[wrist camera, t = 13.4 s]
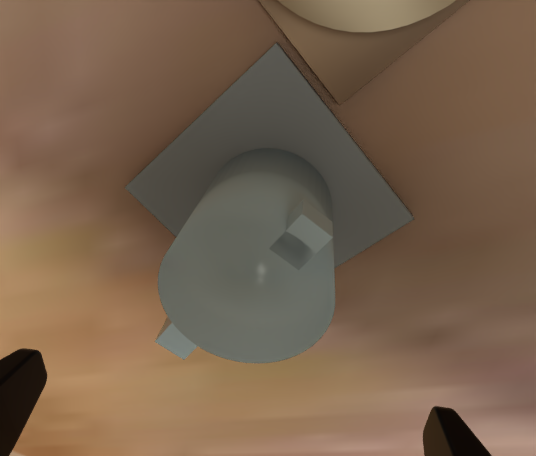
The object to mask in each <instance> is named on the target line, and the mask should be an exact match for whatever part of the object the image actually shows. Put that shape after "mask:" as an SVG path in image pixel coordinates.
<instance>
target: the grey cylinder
mask: <svg viewBox="0 0 536 456" xmlns="http://www.w3.org/2000/svg"><path fill="white" fill-rule="evenodd" d="M158 291H159V296H160V300H161V303H162V305H163V308H164V310H165V312H166V314H167V316H168V317H167V319H166V321H165V323H164V325H163V326H162V328H161V330H160V332H159V334H158V336H157V338H156V340H155V342H156V343H158V344H159V345H161V346H163V347H164V348H166V349H167V350H169V351H171V352H172V353H174V354H175V355H177V356H179V357H180V358H182V359H183V360H184V359H185V358H186V357H187V356H188V355H189V354H190V353H191V352H192V351H193V350H194V349H195V348H196V347H197V346H198V347H200V348H202V349H204V350H205V351H207V352H210V353H212V354H214V355H216V356H219V357H222V358H225V359H229V360H233V361H238V362H245V363H270V362H277V361H281V360H285V359H288V358H291V357H293V356H296V355H298V354H300V353H302V352H304V351H306V350H307V349H308V348H310V347H311V346H313V345H314V344H315V343H316V342H317V341H318V340H319V339H320V338H321V337H322V336H323V334H324V333H325V332H326V330H327V328H328V327H329V325H330V323H331V320H332V317H333V314H334V309H335V275H334V247H333V218H332V200H331V195H330V191H329V188H328V186H327V184H326V182H325V180H324V179H323V177H322V175H321V174H320V173H319V172H318V171H317V169H316V168H315V167H314V166H312V165H311V164H310V163H309V162H308V161H306V160H305V159H303V158H302V157H300V156H298V155H296V154H293V153H291V152H288V151H284V150H280V149H273V148H261V149H254V150H250V151H247V152H244V153H242V154H239V155H237V156H236V157H234V158H232V159H231V160H230V161H228V162H227V163H226V164H225V165H224V166H223V167H222V168H221V169H220V171H219V172H218V174H217V175H216V177H215V178H214V180H213V181H212V183H211V184H210V186H209V187H208V189H207V191H206V192H205V194H204V195H203V197H202V198H201V200H200V201H199V203H198V205H197V206H196V208H195V209H194V211H193V212H192V214H191V215H190V217H189V218H188V220H187V222H186V223H185V225H184V226H183V228H182V229H181V231H180V232H179V234H178V236H177V237H176V239H175V240H174V242H173V243H172V245H171V246H170V248H169V250H168V251H167V253H166V254H165V256H164V258H163V260H162V263H161V265H160V269H159V274H158Z"/></svg>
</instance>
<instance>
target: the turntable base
mask: <svg viewBox="0 0 536 456" xmlns="http://www.w3.org/2000/svg"><path fill="white" fill-rule="evenodd" d="M259 1H260V3H261V4H262V5H263V7H264V8H265V9H266V10H267V12H268V13H269V14H270V16H271V17H272V18H273V20H274V21H275V22H276V23H277V25H278V26H279V27H280V29H281V30H282V31H283V33H284V34H285V35H286V36H287V38H288V39H289V40H290V42H291V43H292V44H293V46H294V47H295V48H296V49H297V51H298V52H299V53H300V55H301V56H302V57H303V58H304V60H305V61H306V62H307V64H308V65H309V66H310V68H311V69H312V70H313V71H314V73H315V74H316V75H317V77H318V78H319V79H320V81H321V82H322V83H323V84H324V86H325V87H326V88H327V90H328V91H329V92H330V94H331V95H332V96H333V97H334V99H335V100H336V101H337V103H338V104H339V105H341V104H342V103H343V102H345V101H346V100H347V99H348V98H350V97H351V96H352V95H353V94H354V93H356V92H357V91H358V90H359V89H361V88H362V87H363V86H364V85H366V84H367V83H368V82H369V81H371V80H372V79H373V78H374V77H376V76H377V75H378V74H379V73H380V72H382V71H383V70H384V69H385V68H387V67H388V66H389V65H390V64H392V63H393V62H394V61H395V60H397V59H398V58H399V57H400V56H402V55H403V54H404V53H405V52H406V51H408V50H409V49H410V48H411V47H413V46H414V45H415V44H416V43H418V42H419V41H420V40H421V39H423V38H424V37H425V36H426V35H428V34H429V33H430V32H431V31H432V30H434V29H435V28H436V27H437V26H439V25H440V24H441V23H442V22H444V21H445V20H446V19H447V18H449V17H450V16H451V15H452V14H454V13H455V12H456V11H457V10H458V9H460V8H461V7H462V6H463V5H465V4H466V3H467V2H468V1H470V0H456V1H454V2H453V3H452V4H450V5H449V6H447V7H445V8H443V9H442V10H440V11H438V12H436V13H435V14H433V15H431V16H429V17H427V18H424V19H422V20H420V21H417V22H415V23H412V24H410V25H406V26H402V27H399V28H395V29H391V30H385V31H377V32H348V31H342V30H335V29H331V28H328V27H325V26H321V25H318V24H315V23H313V22H311V21H309V20H307V19H305V18H303V17H301V16H299V15H297V14H296V13H294V12H293V11H291V10H290V9H288V8H287V7H285V6H284V5H282V4H281V3H280V2H279V1H278V0H259Z"/></svg>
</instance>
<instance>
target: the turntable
mask: <svg viewBox="0 0 536 456" xmlns="http://www.w3.org/2000/svg"><path fill="white" fill-rule="evenodd" d="M278 1H279V2H280V3H281V4H282V5H284V6H285V7H287V8H288V9H290V10H291V11H293V12H294V13H296V14H297V15H299V16H301V17H303V18H305V19H307V20H309V21H311V22H313V23H315V24H318V25H321V26H325V27H328V28H331V29H335V30H342V31H348V32H377V31H385V30H391V29H395V28H399V27H402V26H406V25H410V24H412V23H415V22H417V21H420V20H422V19H424V18H427V17H429V16H431V15H433V14H435V13H436V12H438V11H440V10H442V9H443V8H445V7H447V6H449V5H450V4H452V3H453V2H454V1H456V0H278Z"/></svg>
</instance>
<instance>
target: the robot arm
mask: <svg viewBox="0 0 536 456" xmlns="http://www.w3.org/2000/svg"><path fill="white" fill-rule="evenodd" d="M46 381H47V372H46V369H45V365H44V362H43V358H42V355H41V353H40V352H39V351H38V350H33V349H26V348H23V349H19V350H17V351H15V352H13V353H12V354H10V355H8V356H6V357H4V358H3V359H1V360H0V456H9V455H10V453H11V451H12V450H13V448H14V446H15V444H16V442H17V440H18V439H19V437H20V435H21V433H22V431H23V429H24V427H25V425H26V423H27V421H28V419H29V417H30V415H31V413H32V411H33V409H34V407H35V405H36V403H37V400H38V398H39V396H40V394H41V392H42V390H43V388H44V386H45V384H46ZM423 445H424V455H425V456H491V454H490V453H489V452H488V451H487V449H486V448H485V447H484V446H483V444H482V443H481V442H480V441H479V440H478V438H477V437H476V436H475V435H474V433H473V432H472V431H471V430H470V428H469V427H468V426H467V425H466V424H465V422H464V421H463V420H462V419H461V417H460V416H459V415H458V414H457V413H456V411H454V410H453V409H451V408H445V407H438V406H435V407H433V408H432V410H431V412H430V414H429V417H428V420H427V422H426V425H425V428H424V431H423Z"/></svg>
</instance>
